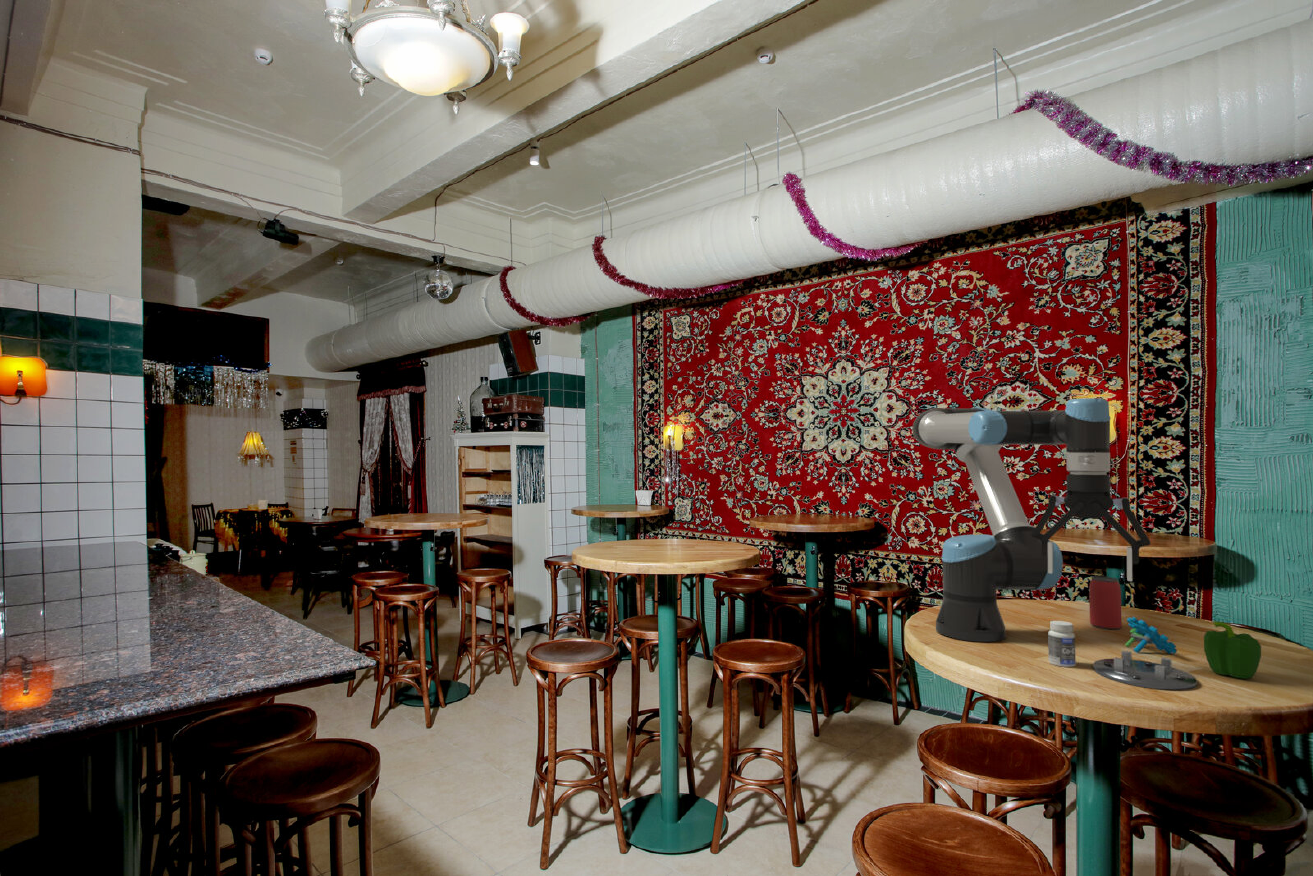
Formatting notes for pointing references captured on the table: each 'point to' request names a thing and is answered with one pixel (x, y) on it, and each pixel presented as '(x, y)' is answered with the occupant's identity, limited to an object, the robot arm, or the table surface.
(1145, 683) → the hub
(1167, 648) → the gear
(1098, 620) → the beer can
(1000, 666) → the table surface
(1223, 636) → the bell pepper
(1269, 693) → the table surface
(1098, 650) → the table surface
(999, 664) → the table surface
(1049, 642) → the pill bottle
